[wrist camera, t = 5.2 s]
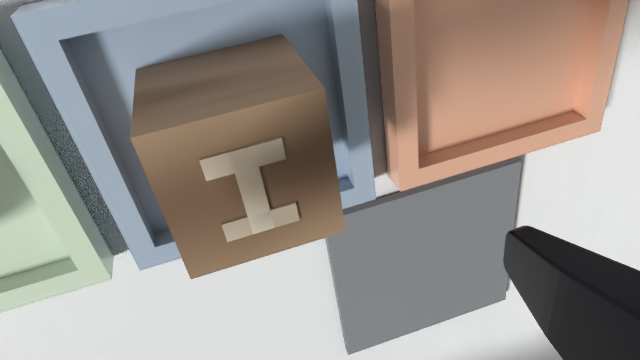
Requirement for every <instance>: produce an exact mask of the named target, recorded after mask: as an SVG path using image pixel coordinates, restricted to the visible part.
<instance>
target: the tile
mask: <svg viewBox="0 0 640 360" xmlns="http://www.w3.org/2000/svg"><path fill="white" fill-rule="evenodd" d="M521 165H522V161H521V160H520V159H519V158H517V157H513V158H510V159H507V160H503V161H500V162H497V163H494V164H490V165H487V166H484V167H480V168H477V169H474V170H470V171H467V172H464V173H461V174H457V175H454V176H451V177H447V178H444V179H441V180H437V181H434V182H431V183H428V184H424V185H421V186H418V187H414V188H411V189H408V190H404V191H401V192H398V193H394V194H391V195H388V196H385V197H381V198H378V199H375V200H371V201H368V202H365V203H361V204H358V205H355V206H352V207H348V208H345V209H343V215H344V222H345V228H346V231H345V232H342V233H338V234H335V235H332V236H329V237H325V238H326V243H327V249H328V254H329V260H330V265H331V270H332V276H333V281H334V287H335V292H336V298H337V303H338V309H339V314H340V320H341V325H342V331H343V336H344V342H345V347H346V350H347V353H348V355H349V354H352V353H355V352H358V351H361V350H364V349H366V348H369V347H372V346H375V345H378V344H381V343H383V342H386V341H389V340H392V339H395V338H398V337H400V336H403V335H406V334H409V333H412V332H415V331H417V330H420V329H423V328H426V327H429V326H432V325H434V324H437V323H440V322H443V321H446V320H449V319H451V318H454V317H457V316H460V315H463V314H466V313H468V312H471V311H474V310H477V309H480V308H483V307H485V306H488V305H491V304H494V303H497V302H500V301H502V300H505V298H506V290H507V281H508V274H507V272H506V270H505V268H504V264H503V256H504V246H505V237H506V234H507V232H508V231H510V230H513V229H514V223H515V215H516V207H517V198H518V190H519V182H520V173H521Z"/></svg>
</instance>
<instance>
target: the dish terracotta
mask: <svg viewBox="0 0 640 360" xmlns="http://www.w3.org/2000/svg"><path fill="white" fill-rule="evenodd" d="M628 5H629V0H375V8H376V22H377V35H378V49H379V62H380V75H381V89H382V102H383V116H384V129H385V143H386V156H387V170H388V176H389V178H390V179H391V180H392V182H393V183H394V184H395V186H396V187H397V188H398V189H399V191H400V192H401V191H404V190H407V189H411V188H414V187H417V186H421V185H424V184H427V183H431V182H434V181H437V180H440V179H444V178H447V177H450V176H454V175H457V174H460V173H464V172H467V171H470V170H473V169H477V168H480V167H483V166H487V165H490V164H493V163H497V162H500V161H503V160H506V159H510V158H513V157H516V156H520V155H523V154H526V153H530V152H533V151H536V150H540V149H543V148H546V147H549V146H553V145H556V144H559V143H563V142H566V141H569V140H573V139H576V138H579V137H582V136H586V135H589V134H592V133H596V132H599V131H600V130H601V125H602V121H603V116H604V112H605V107H606V103H607V98H608V94H609V89H610V85H611V81H612V76H613V72H614V67H615V63H616V58H617V54H618V49H619V45H620V40H621V36H622V31H623V27H624V22H625V18H626V14H627V9H628Z"/></svg>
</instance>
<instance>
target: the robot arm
mask: <svg viewBox="0 0 640 360" xmlns="http://www.w3.org/2000/svg"><path fill="white" fill-rule="evenodd" d="M503 264H504V268H505V270H506V272H507V274H508V276H509V277H510V279H511V280H512V282H513V284H514V285H515V287H516V289H517V290H518V292H519V294H520V295H521V297H522V298H523V300H524V302H525V303H526V305H527V307H528V308H529V310H530V312H531V313H532V315H533V316H534V318H535V320H536V321H537V323H538V325H539V326H540V328H541V329H542V331H543V332H544V334H545V336H546V337H547V338H548V340H549V341H550V343H551V344H552V345H553V347H554V348H555V349H556V351H557V352H558V353H559V355H560V356H561V357H562V359H563V360H640V271H639V270H636V269H634V268H632V267H629V266H627V265H624V264H622V263H619V262H617V261H614V260H612V259H609V258H607V257H604V256H602V255H600V254H597V253H595V252H592V251H590V250H587V249H585V248H582V247H580V246H577V245H575V244H572V243H570V242H568V241H565V240H563V239H560V238H558V237H555V236H553V235H550V234H548V233H545V232H543V231H540V230H538V229H536V228H533V227H530V226H522V227H519V228H516V229H513V230H510V231H508V232H507V234H506V237H505V246H504V256H503Z"/></svg>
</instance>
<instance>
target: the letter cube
mask: <svg viewBox="0 0 640 360" xmlns="http://www.w3.org/2000/svg"><path fill="white" fill-rule="evenodd" d="M130 139H131V141H132V143H133V146H134V148H135V150H136V153H137V155H138V157H139V160H140V162H141V164H142V167H143V169H144V171H145V174H146V176H147V178H148V181H149V183H150V185H151V187H152V190H153V192H154V194H155V197H156V199H157V201H158V204H159V206H160V208H161V211H162V213H163V215H164V218H165V220H166V222H167V225H168V227H169V229H170V232H171V234H172V236H173V239H174V241H175V243H176V246H177V248H178V250H179V253H180V255H181V257H182V260H183V262H184V264H185V267H186V269H187V271H188V273H189V276H190V278H191V279H194V278H197V277H200V276H203V275H206V274H210V273H213V272H216V271H219V270H222V269H226V268H229V267H232V266H235V265H239V264H242V263H245V262H248V261H251V260H255V259H258V258H261V257H264V256H268V255H271V254H274V253H277V252H280V251H284V250H287V249H290V248H293V247H297V246H300V245H303V244H306V243H309V242H313V241H316V240H319V239H322V238H325V237H329V236H332V235H335V234H338V233H342V232H345V231H346V228H345V222H344V215H343V208H342V201H341V195H340V188H339V181H338V175H337V168H336V161H335V154H334V148H333V141H332V134H331V127H330V121H329V114H328V107H327V100H326V94H325V88H324V86H323V85H322V84H321V83H320V81H319V80H318V79H317V77H316V76H315V75H314V74H313V72H312V71H311V70H310V69H309V67H308V66H307V65H306V63H305V62H304V61H303V60H302V58H301V57H300V56H299V55H298V53H297V52H296V51H295V49H294V48H293V47H292V46H291V44H290V43H289V42H288V41H287V39H286V38H285V37H284V35H283V34H280V35H276V36H272V37H268V38H264V39H260V40H255V41H251V42H247V43H243V44H239V45H234V46H230V47H226V48H222V49H218V50H213V51H209V52H205V53H201V54H197V55H192V56H188V57H184V58H180V59H176V60H172V61H167V62H163V63H159V64H155V65H151V66H146V67H142V68H138V69H136V72H135V85H134V98H133V110H132V123H131V136H130Z"/></svg>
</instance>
